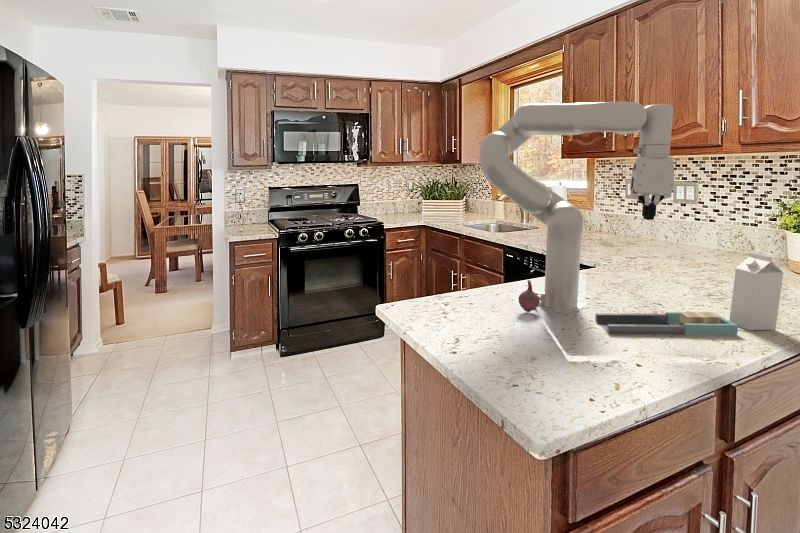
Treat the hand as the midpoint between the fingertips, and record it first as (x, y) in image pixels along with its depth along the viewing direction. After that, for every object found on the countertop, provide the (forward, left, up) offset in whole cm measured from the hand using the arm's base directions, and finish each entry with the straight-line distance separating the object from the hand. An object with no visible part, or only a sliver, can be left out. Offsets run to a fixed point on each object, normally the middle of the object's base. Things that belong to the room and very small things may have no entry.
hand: (648, 219), depth 134 cm
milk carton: (+26, +3, -27) cm, 38 cm away
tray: (+16, -10, -27) cm, 33 cm away
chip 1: (+14, -11, -27) cm, 32 cm away
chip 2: (+17, -8, -27) cm, 33 cm away
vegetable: (-26, -19, -27) cm, 42 cm away
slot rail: (+3, -18, -27) cm, 33 cm away
